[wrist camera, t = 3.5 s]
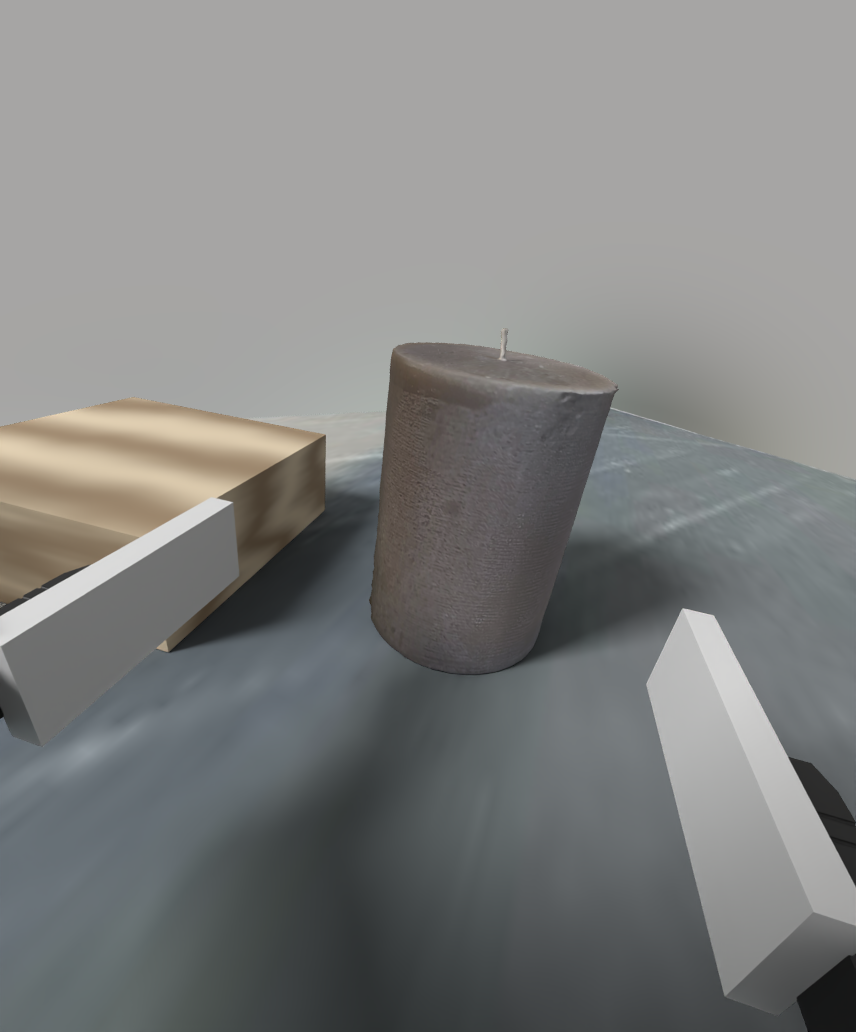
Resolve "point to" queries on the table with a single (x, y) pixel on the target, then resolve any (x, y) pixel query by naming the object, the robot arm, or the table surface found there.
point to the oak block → (147, 487)
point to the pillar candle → (478, 498)
